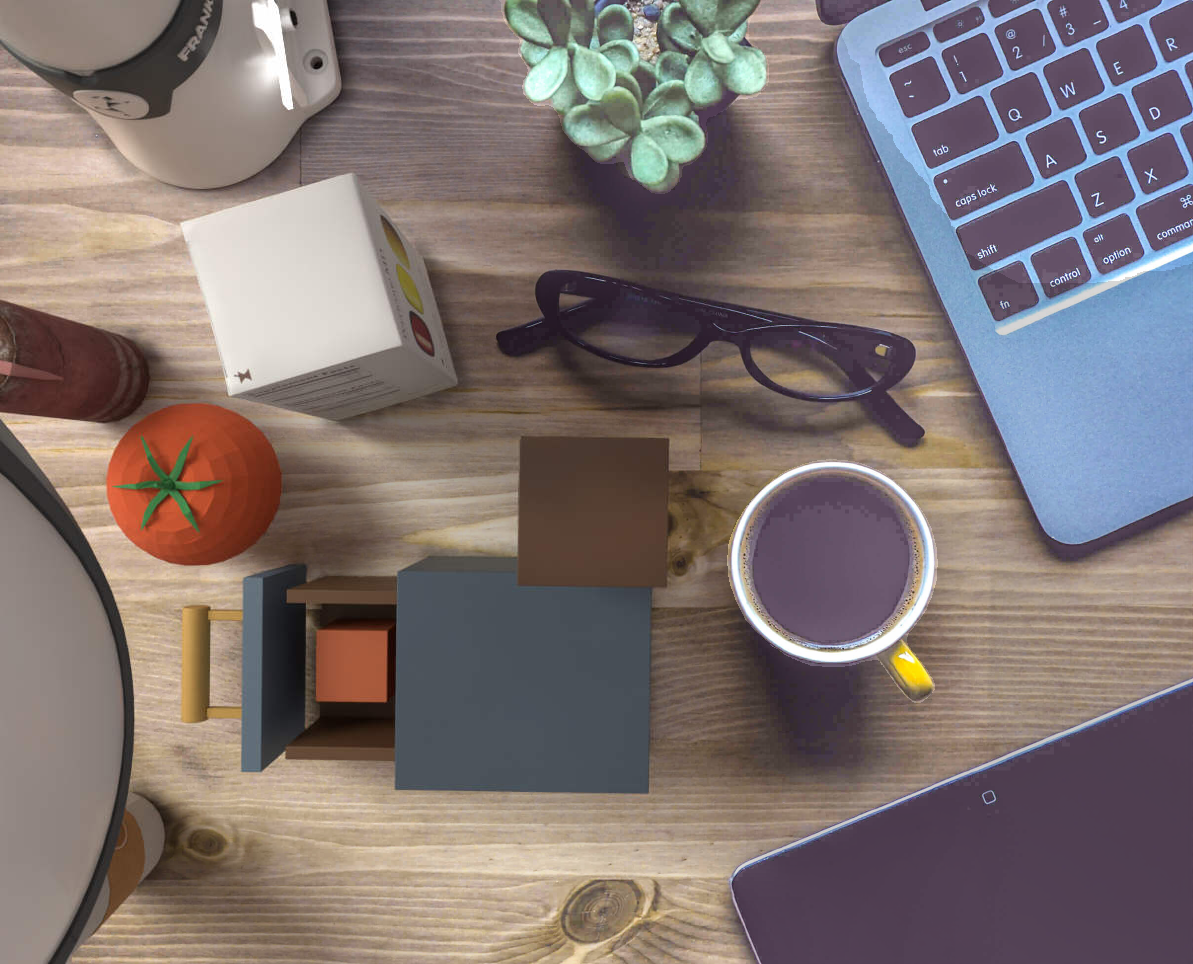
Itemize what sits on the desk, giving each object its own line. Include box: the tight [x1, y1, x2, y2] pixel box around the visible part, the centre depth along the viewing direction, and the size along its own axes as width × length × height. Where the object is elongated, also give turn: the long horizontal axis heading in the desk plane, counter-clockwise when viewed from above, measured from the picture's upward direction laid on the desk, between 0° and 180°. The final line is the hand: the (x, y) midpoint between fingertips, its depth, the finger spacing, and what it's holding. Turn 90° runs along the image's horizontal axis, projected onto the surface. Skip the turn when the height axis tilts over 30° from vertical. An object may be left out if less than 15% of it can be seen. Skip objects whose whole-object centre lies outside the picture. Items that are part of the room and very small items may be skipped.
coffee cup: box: [72, 791, 166, 956], centre depth 54 cm, size 8×8×15 cm
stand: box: [516, 435, 670, 589], centre depth 48 cm, size 6×6×25 cm
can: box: [0, 299, 152, 424], centre depth 54 cm, size 6×6×14 cm
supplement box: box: [179, 171, 459, 422], centre depth 52 cm, size 10×9×17 cm
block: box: [315, 618, 397, 703], centre depth 57 cm, size 4×4×4 cm
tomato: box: [106, 402, 283, 567], centre depth 56 cm, size 10×10×10 cm
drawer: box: [180, 563, 397, 773], centre depth 56 cm, size 18×11×8 cm, turn 89°
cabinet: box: [394, 555, 653, 795], centre depth 56 cm, size 15×13×10 cm
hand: (54, 805), depth 32 cm, fingers open, 8 cm apart
